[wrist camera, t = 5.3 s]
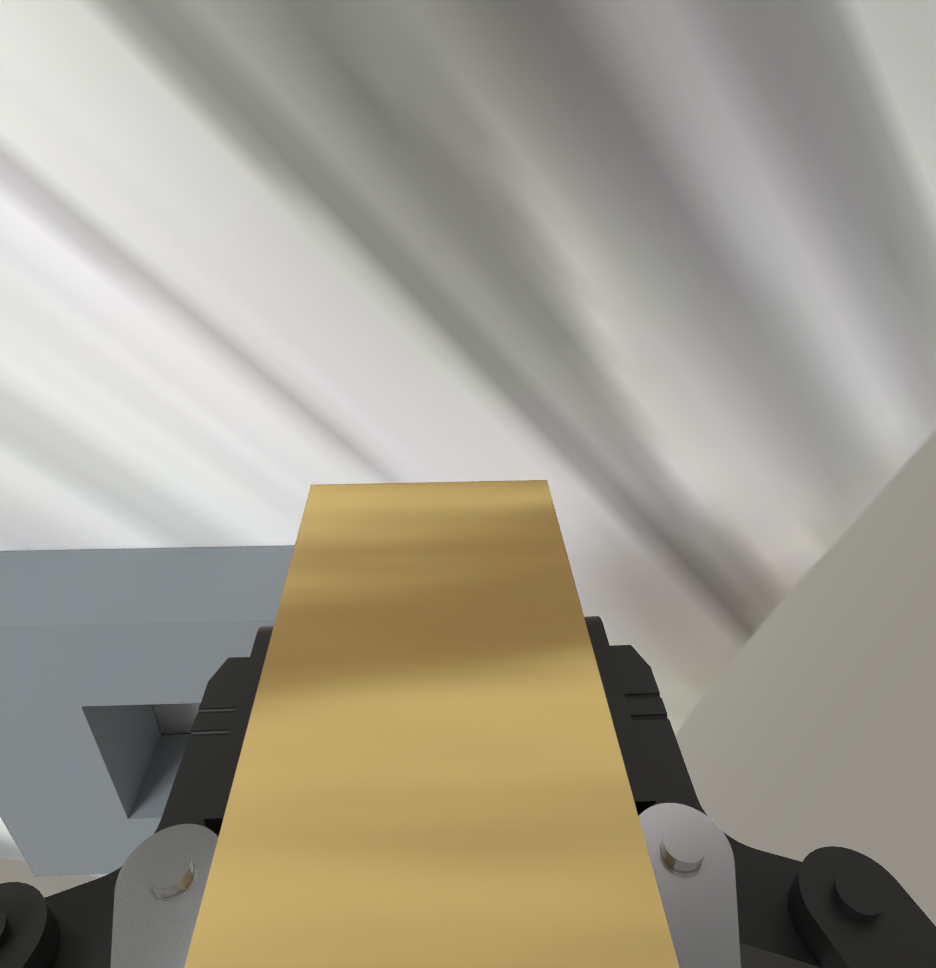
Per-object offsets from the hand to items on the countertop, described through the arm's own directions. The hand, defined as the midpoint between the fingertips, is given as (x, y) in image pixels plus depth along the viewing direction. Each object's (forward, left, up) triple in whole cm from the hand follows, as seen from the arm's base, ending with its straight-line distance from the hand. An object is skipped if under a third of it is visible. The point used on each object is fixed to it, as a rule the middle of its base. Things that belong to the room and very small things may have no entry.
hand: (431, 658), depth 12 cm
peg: (0, 0, -2) cm, 2 cm away
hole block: (+13, -9, -12) cm, 20 cm away
